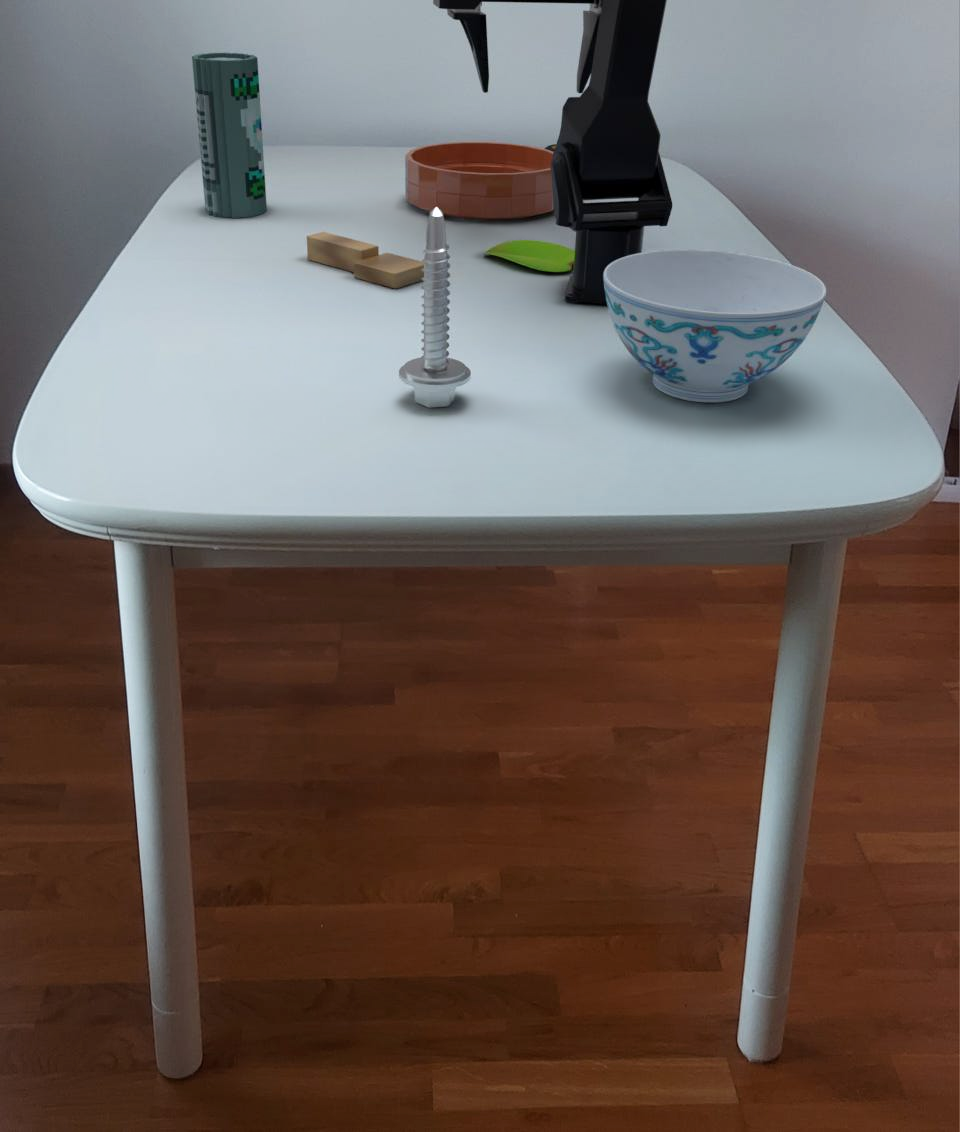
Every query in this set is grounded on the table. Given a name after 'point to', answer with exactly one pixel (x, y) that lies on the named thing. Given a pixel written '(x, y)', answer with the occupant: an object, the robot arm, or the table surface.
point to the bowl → (480, 180)
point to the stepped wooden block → (364, 260)
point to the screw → (435, 327)
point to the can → (230, 134)
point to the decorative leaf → (536, 254)
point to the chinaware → (710, 317)
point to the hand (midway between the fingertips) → (532, 92)
